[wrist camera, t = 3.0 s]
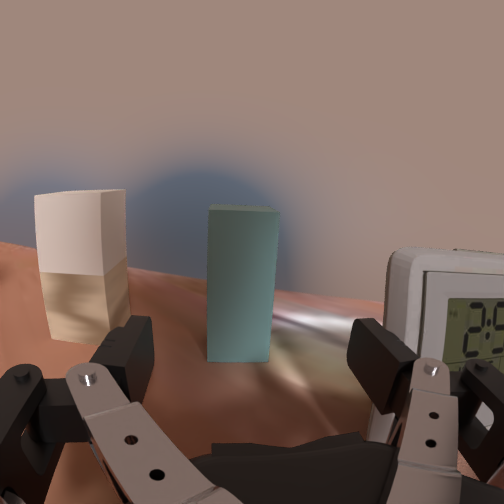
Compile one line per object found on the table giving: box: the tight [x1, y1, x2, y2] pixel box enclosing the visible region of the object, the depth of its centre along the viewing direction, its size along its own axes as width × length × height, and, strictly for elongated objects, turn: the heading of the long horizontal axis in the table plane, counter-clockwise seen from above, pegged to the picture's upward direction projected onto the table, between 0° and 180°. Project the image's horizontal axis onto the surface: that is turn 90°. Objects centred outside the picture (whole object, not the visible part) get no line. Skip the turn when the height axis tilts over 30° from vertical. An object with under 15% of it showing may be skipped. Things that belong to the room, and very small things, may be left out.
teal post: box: [207, 204, 280, 362], centre depth 23 cm, size 4×4×11 cm
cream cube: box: [34, 190, 126, 276], centre depth 22 cm, size 6×6×6 cm
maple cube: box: [40, 256, 131, 346], centre depth 24 cm, size 6×6×6 cm
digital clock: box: [366, 247, 504, 443], centre depth 13 cm, size 16×9×11 cm, turn 74°
